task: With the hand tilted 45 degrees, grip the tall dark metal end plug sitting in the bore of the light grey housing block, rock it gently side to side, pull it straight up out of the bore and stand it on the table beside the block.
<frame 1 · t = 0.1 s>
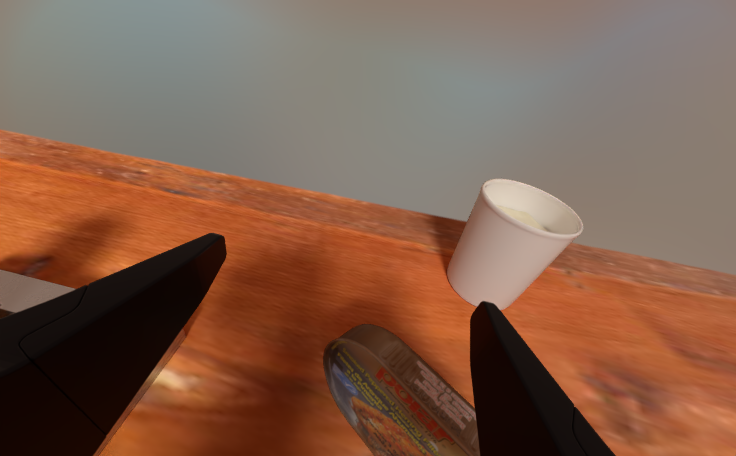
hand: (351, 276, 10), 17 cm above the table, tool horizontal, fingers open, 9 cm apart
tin: (397, 450, 20), on the table
white paper cup: (477, 284, 36), on the table
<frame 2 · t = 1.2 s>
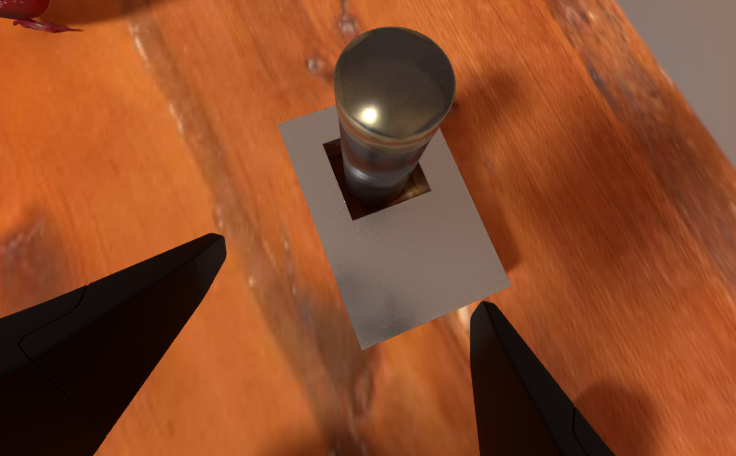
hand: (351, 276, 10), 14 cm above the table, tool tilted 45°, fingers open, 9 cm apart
housing block: (387, 211, 24), on the table
decorative bird figurine: (24, 29, 26), on the table
end plug: (374, 179, 25), resting in housing block
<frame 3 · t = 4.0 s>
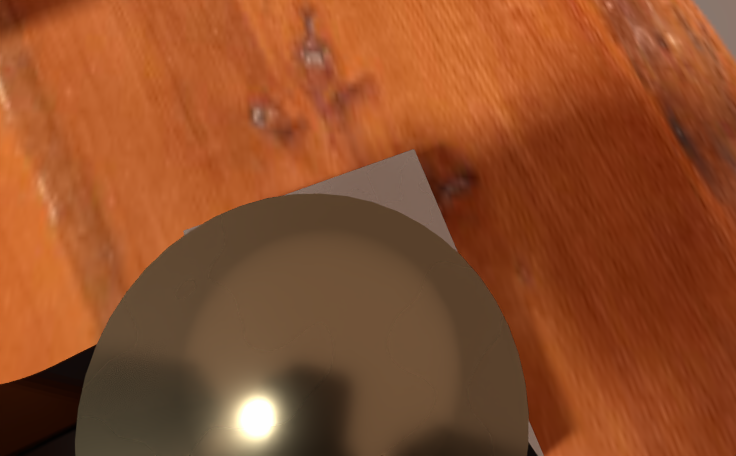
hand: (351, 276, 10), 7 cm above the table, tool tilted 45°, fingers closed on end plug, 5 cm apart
housing block: (366, 349, 16), on the table
end plug: (347, 297, 16), resting in housing block, touching gripper
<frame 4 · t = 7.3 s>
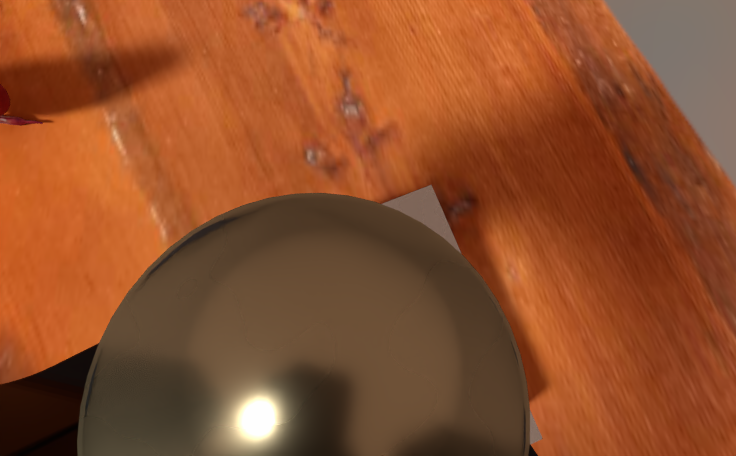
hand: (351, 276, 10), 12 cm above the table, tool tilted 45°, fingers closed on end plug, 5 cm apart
housing block: (397, 329, 22), on the table
end plug: (347, 297, 16), point 6 cm above the table, touching gripper
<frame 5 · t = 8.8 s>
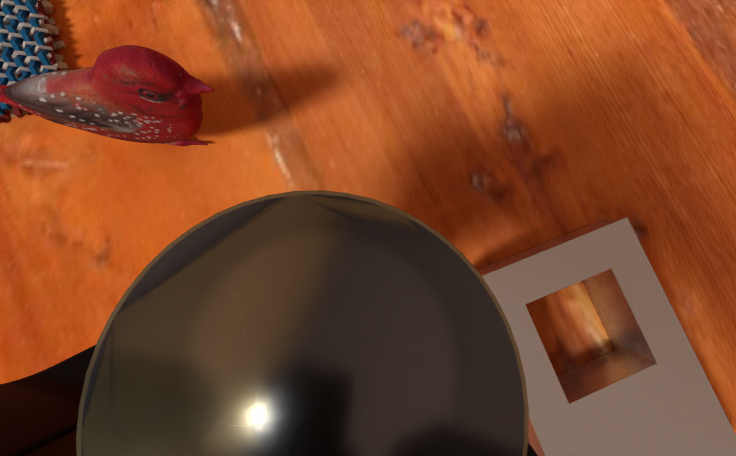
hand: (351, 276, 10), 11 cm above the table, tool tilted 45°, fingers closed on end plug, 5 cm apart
housing block: (575, 364, 21), on the table
decorative bird figurine: (148, 141, 22), on the table
woven mat: (7, 69, 23), on the table
end plug: (347, 297, 16), point 5 cm above the table, touching gripper
when the fingers open (7 cm above the table, at t = 10.4 s): end plug stays where it is, on the table.
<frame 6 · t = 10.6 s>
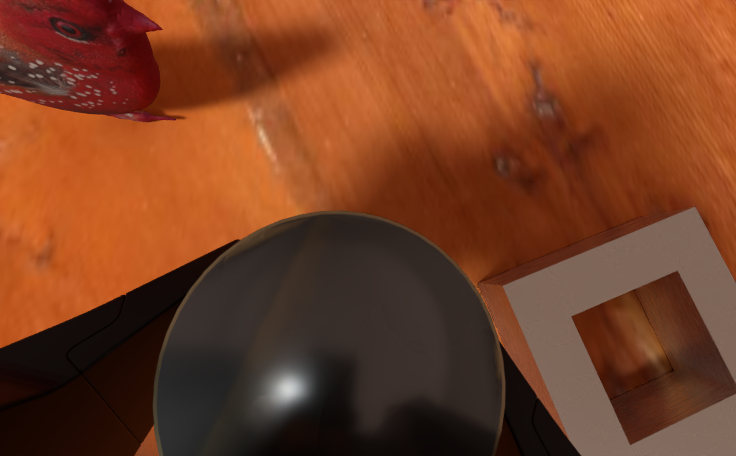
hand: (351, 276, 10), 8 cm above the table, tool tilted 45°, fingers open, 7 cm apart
housing block: (626, 388, 17), on the table
decorative bird figurine: (105, 116, 18), on the table
end plug: (347, 296, 17), on the table
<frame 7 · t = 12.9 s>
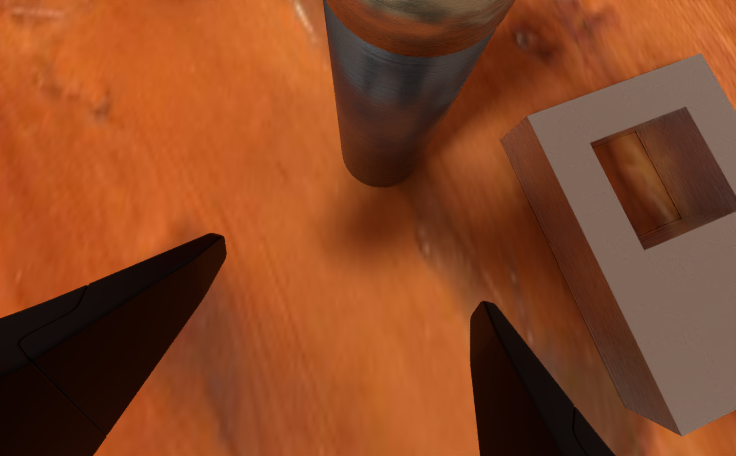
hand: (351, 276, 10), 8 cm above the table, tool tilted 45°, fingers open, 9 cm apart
housing block: (638, 232, 18), on the table
end plug: (380, 149, 19), on the table
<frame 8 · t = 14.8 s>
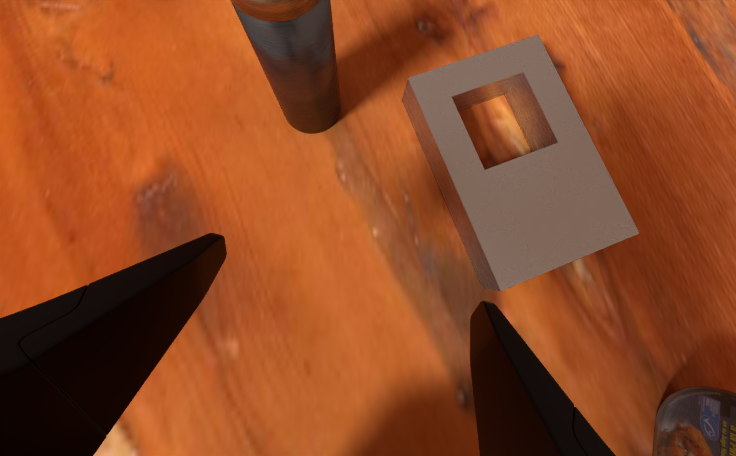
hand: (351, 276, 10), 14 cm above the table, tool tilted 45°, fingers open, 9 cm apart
housing block: (501, 167, 25), on the table
end plug: (312, 106, 25), on the table
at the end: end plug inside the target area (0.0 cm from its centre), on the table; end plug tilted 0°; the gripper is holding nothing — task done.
